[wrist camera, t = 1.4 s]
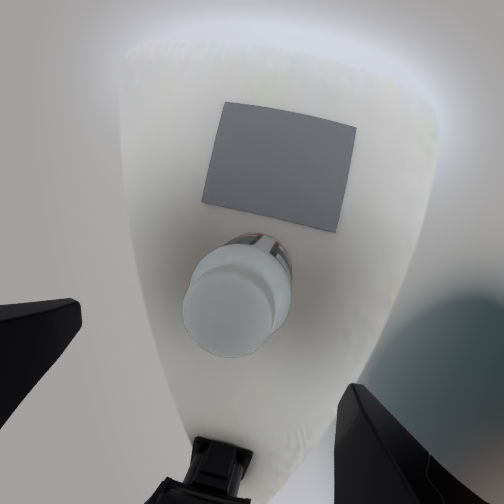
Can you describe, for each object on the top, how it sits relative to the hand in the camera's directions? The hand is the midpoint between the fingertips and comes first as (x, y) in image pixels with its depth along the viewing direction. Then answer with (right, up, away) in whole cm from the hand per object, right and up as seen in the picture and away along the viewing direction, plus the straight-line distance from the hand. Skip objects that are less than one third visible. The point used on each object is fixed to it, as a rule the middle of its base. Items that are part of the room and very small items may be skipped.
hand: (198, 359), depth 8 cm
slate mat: (+4, +10, +12) cm, 16 cm away
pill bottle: (+2, +2, +13) cm, 14 cm away
